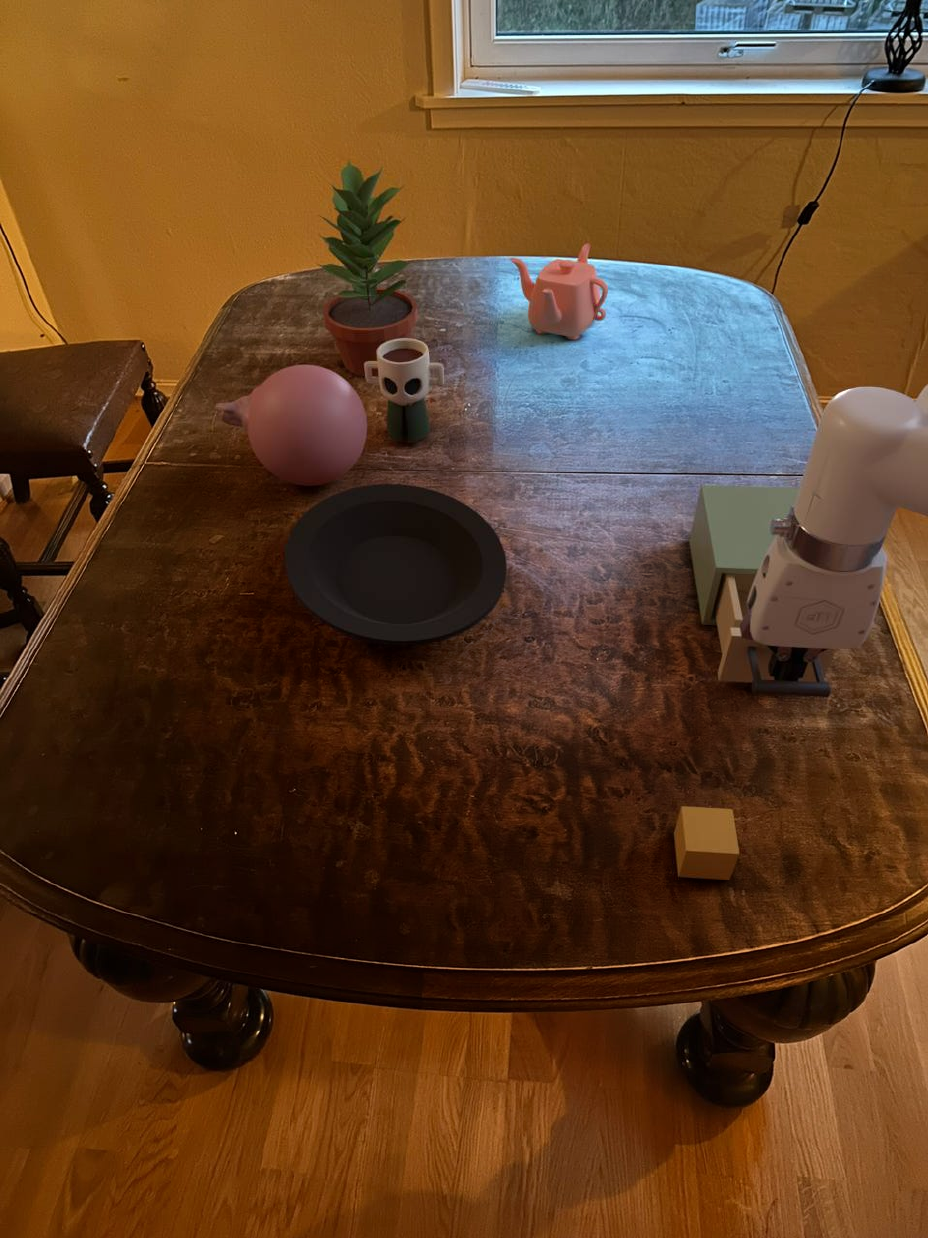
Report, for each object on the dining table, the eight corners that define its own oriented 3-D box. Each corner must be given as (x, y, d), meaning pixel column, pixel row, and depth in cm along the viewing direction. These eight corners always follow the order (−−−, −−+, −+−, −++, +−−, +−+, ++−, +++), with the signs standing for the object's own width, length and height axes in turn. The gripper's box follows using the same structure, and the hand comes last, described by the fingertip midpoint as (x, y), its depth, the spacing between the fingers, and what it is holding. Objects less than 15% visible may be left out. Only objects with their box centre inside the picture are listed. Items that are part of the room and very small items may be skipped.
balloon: (254, 433, 128) (231, 334, 117) (386, 449, 124) (376, 348, 113) (208, 497, 117) (179, 394, 106) (351, 516, 114) (337, 412, 103)
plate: (551, 622, 99) (553, 585, 95) (362, 712, 91) (357, 676, 87) (425, 496, 116) (423, 460, 112) (256, 562, 108) (248, 526, 104)
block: (723, 835, 80) (732, 808, 77) (729, 880, 77) (739, 854, 74) (673, 833, 80) (681, 806, 77) (678, 877, 77) (686, 850, 74)
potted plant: (345, 334, 149) (321, 139, 127) (431, 344, 146) (421, 146, 124) (311, 378, 139) (279, 175, 117) (403, 390, 135) (387, 183, 114)
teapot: (541, 354, 143) (544, 287, 135) (508, 316, 152) (508, 252, 144) (622, 337, 146) (629, 271, 138) (584, 301, 155) (589, 238, 148)
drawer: (833, 730, 87) (853, 684, 82) (725, 724, 88) (739, 679, 83) (797, 595, 100) (812, 550, 96) (704, 592, 101) (715, 546, 96)
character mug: (367, 446, 125) (357, 362, 116) (375, 418, 130) (366, 336, 121) (443, 449, 124) (440, 364, 115) (449, 421, 129) (445, 338, 120)
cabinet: (808, 629, 98) (829, 571, 92) (702, 625, 99) (715, 567, 93) (785, 544, 108) (802, 487, 102) (689, 540, 109) (700, 484, 103)
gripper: (749, 560, 72) (709, 704, 85) (940, 567, 70) (870, 712, 83) (737, 503, 77) (701, 647, 90) (914, 509, 76) (852, 654, 89)
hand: (782, 678), depth 87 cm, fingers closed
